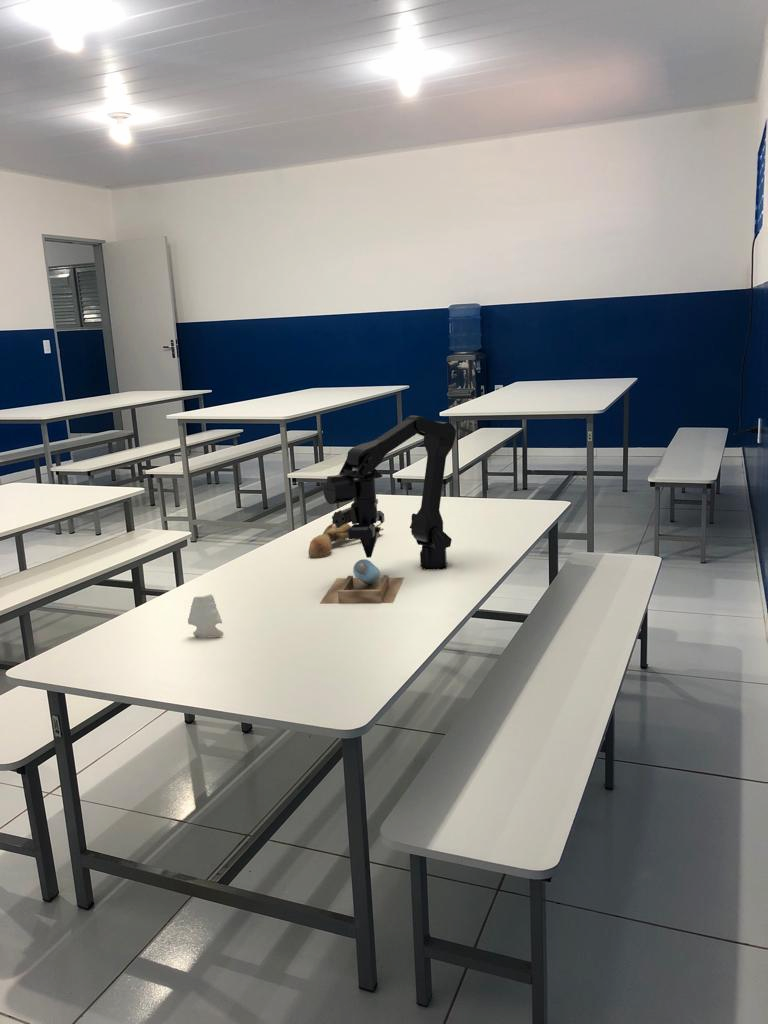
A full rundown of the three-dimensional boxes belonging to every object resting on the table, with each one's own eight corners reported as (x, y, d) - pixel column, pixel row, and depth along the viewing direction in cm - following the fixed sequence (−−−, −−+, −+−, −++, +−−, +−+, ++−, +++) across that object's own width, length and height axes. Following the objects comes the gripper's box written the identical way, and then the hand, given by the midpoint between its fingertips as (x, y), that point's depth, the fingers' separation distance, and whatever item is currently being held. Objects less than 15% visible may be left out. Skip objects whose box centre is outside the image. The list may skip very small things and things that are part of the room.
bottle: (380, 564, 215) (371, 556, 205) (380, 584, 214) (371, 577, 203) (360, 565, 216) (350, 557, 206) (360, 585, 215) (350, 578, 204)
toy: (337, 542, 275) (285, 557, 249) (337, 516, 274) (284, 528, 248) (384, 546, 267) (335, 561, 241) (384, 519, 266) (335, 531, 240)
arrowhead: (187, 639, 187) (182, 596, 185) (191, 635, 189) (186, 592, 187) (222, 638, 186) (217, 595, 183) (226, 635, 188) (221, 592, 186)
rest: (404, 579, 219) (403, 566, 218) (393, 605, 200) (392, 590, 199) (337, 580, 222) (336, 567, 222) (319, 605, 203) (318, 591, 202)
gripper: (341, 490, 221) (345, 548, 225) (325, 506, 204) (330, 568, 207) (382, 489, 220) (386, 547, 223) (370, 505, 202) (374, 567, 205)
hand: (368, 557), depth 215 cm, fingers closed
